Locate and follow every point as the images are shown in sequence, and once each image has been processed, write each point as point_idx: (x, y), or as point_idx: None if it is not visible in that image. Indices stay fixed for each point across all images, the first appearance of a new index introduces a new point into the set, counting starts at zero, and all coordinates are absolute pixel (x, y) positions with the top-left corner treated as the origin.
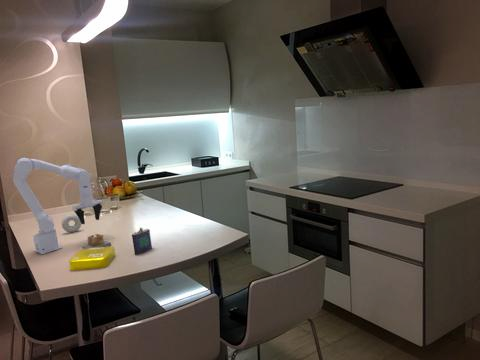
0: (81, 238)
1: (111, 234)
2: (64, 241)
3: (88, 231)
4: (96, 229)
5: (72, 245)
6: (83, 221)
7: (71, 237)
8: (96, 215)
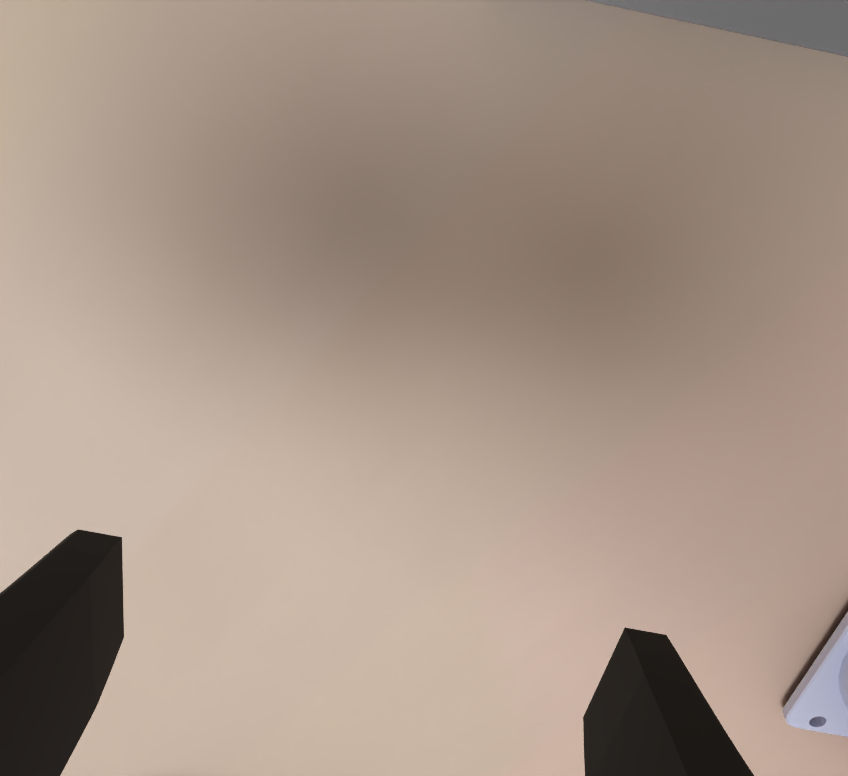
0: (408, 593)
1: (4, 243)
2: None
3: (136, 714)
4: None
5: (744, 479)
6: (702, 710)
7: (424, 739)
8: (39, 725)
